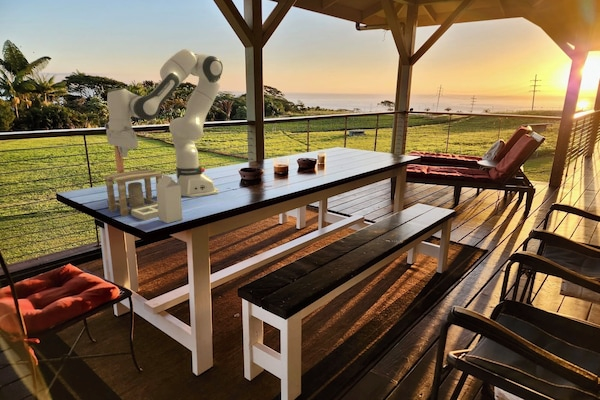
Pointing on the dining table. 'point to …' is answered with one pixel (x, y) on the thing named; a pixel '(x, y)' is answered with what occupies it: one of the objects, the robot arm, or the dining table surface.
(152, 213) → the pit deck
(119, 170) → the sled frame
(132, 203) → the carving
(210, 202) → the dining table surface
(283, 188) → the dining table surface
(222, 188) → the dining table surface
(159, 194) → the milk carton
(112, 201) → the tunnel
